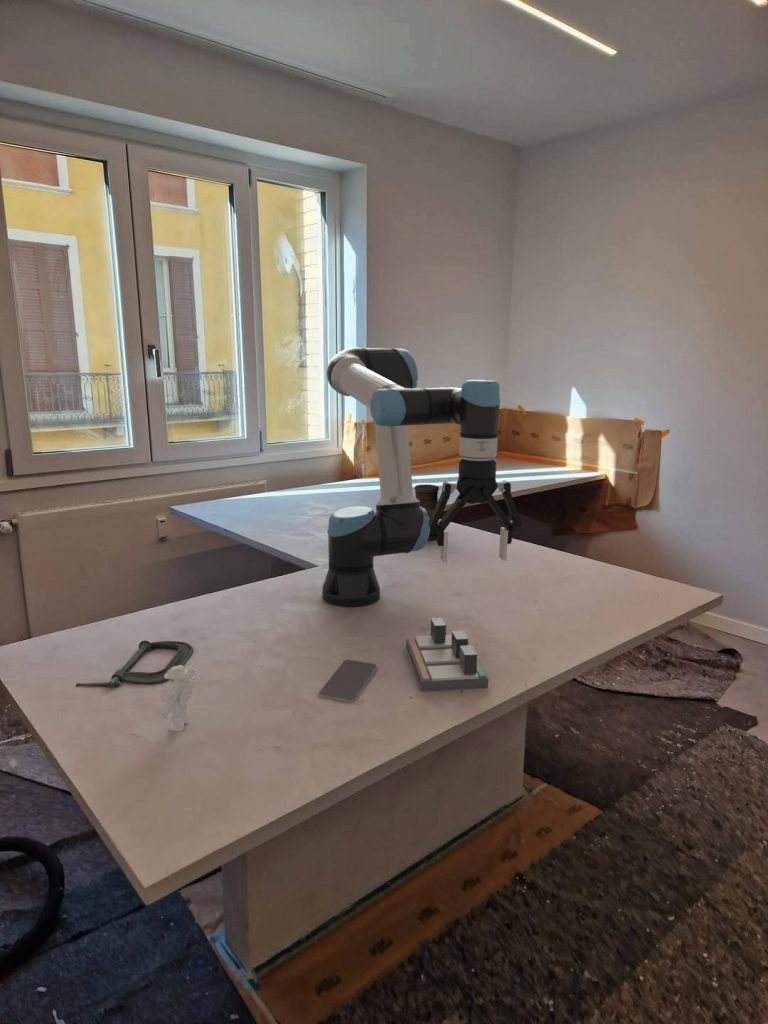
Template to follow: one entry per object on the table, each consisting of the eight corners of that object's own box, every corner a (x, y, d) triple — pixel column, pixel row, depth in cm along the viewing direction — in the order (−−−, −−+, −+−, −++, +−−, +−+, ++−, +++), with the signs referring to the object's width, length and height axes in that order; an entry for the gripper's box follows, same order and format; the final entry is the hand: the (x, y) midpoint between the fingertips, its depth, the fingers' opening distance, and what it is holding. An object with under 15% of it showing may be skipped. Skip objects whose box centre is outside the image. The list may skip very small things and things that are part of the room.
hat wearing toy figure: (178, 740, 108) (172, 674, 105) (156, 737, 109) (150, 672, 106) (203, 712, 117) (199, 650, 114) (183, 709, 117) (178, 648, 114)
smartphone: (316, 694, 122) (344, 658, 136) (316, 699, 122) (344, 662, 136) (353, 701, 120) (378, 664, 134) (353, 705, 120) (378, 668, 134)
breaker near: (464, 674, 125) (464, 655, 124) (459, 664, 129) (459, 645, 128) (476, 673, 126) (477, 654, 125) (471, 663, 129) (471, 645, 128)
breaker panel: (421, 691, 124) (422, 679, 124) (405, 647, 143) (406, 636, 142) (488, 687, 126) (488, 675, 125) (463, 644, 144) (464, 633, 144)
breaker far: (434, 643, 138) (434, 625, 137) (430, 635, 142) (430, 618, 141) (445, 642, 139) (445, 625, 138) (441, 634, 143) (441, 617, 142)
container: (408, 539, 224) (409, 487, 220) (417, 532, 232) (418, 483, 228) (433, 542, 221) (435, 490, 217) (441, 535, 229) (443, 485, 225)
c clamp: (159, 696, 123) (158, 683, 122) (75, 689, 125) (73, 676, 125) (204, 649, 142) (203, 637, 142) (130, 643, 145) (129, 632, 144)
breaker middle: (455, 657, 132) (456, 639, 131) (451, 648, 136) (451, 631, 135) (467, 656, 132) (468, 638, 131) (462, 648, 136) (463, 630, 135)
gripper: (422, 461, 127) (420, 567, 132) (542, 459, 130) (535, 563, 135) (415, 455, 134) (413, 555, 139) (529, 454, 137) (523, 552, 142)
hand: (473, 559), depth 137 cm, fingers open, 12 cm apart
